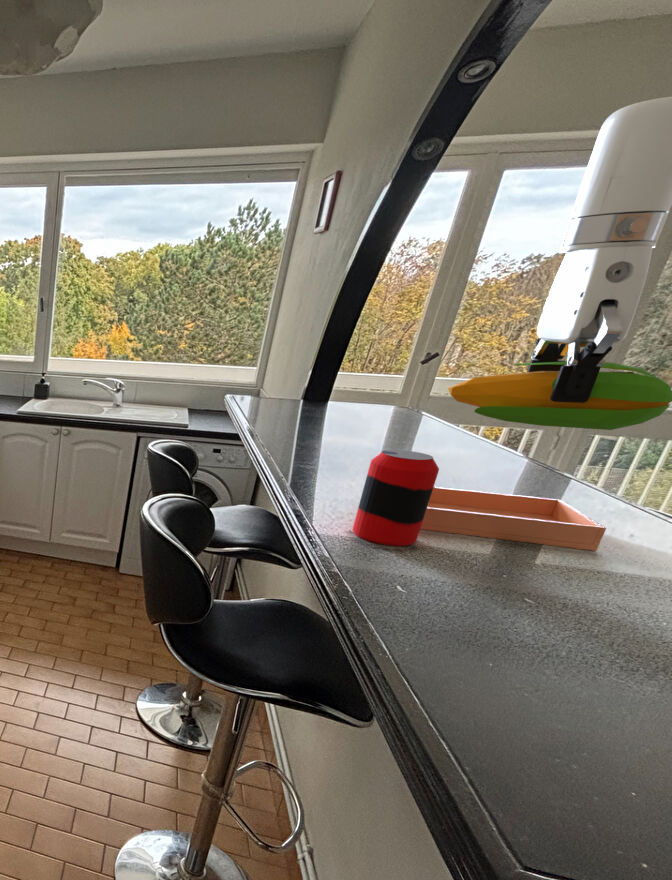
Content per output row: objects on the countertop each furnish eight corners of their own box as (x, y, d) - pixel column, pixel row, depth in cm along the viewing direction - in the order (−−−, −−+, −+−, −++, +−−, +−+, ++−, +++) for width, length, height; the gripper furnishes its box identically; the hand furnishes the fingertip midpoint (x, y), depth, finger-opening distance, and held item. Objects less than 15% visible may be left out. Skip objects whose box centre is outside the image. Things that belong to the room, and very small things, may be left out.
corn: (701, 364, 62) (460, 357, 73) (671, 436, 65) (442, 419, 76) (675, 364, 68) (454, 357, 79) (648, 430, 71) (438, 415, 81)
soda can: (350, 524, 89) (371, 446, 84) (411, 533, 85) (437, 452, 81) (353, 540, 83) (375, 456, 78) (419, 550, 79) (447, 464, 75)
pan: (552, 519, 91) (561, 499, 89) (596, 551, 79) (606, 528, 78) (367, 499, 100) (372, 480, 99) (382, 524, 89) (388, 503, 88)
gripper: (711, 224, 57) (633, 409, 63) (613, 241, 71) (558, 389, 78) (606, 229, 59) (543, 405, 66) (533, 244, 74) (487, 387, 81)
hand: (551, 396), depth 72 cm, fingers closed on corn, 7 cm apart
